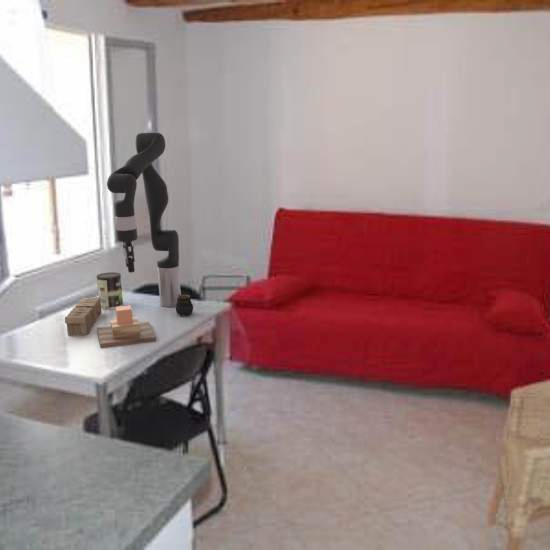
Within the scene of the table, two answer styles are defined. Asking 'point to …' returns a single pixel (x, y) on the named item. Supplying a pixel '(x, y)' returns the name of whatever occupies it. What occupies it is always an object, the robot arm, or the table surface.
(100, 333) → the walnut base
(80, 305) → the brown long block
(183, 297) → the mate gourd
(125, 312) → the terracotta cube
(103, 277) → the coffee can
